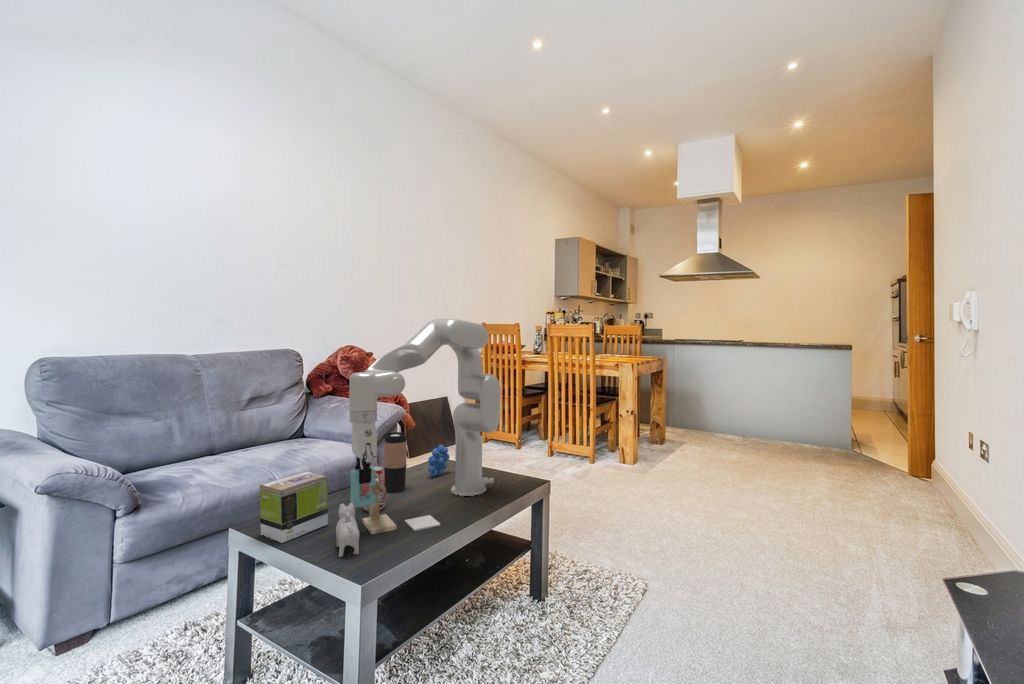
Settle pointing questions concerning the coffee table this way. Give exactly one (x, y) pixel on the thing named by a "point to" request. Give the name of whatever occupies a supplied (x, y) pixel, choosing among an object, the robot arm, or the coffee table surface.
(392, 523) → the stand
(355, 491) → the c link
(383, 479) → the soda can
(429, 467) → the grapes
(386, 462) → the travel mug
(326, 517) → the tea box
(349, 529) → the dog figurine
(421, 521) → the felt mat
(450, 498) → the coffee table surface
